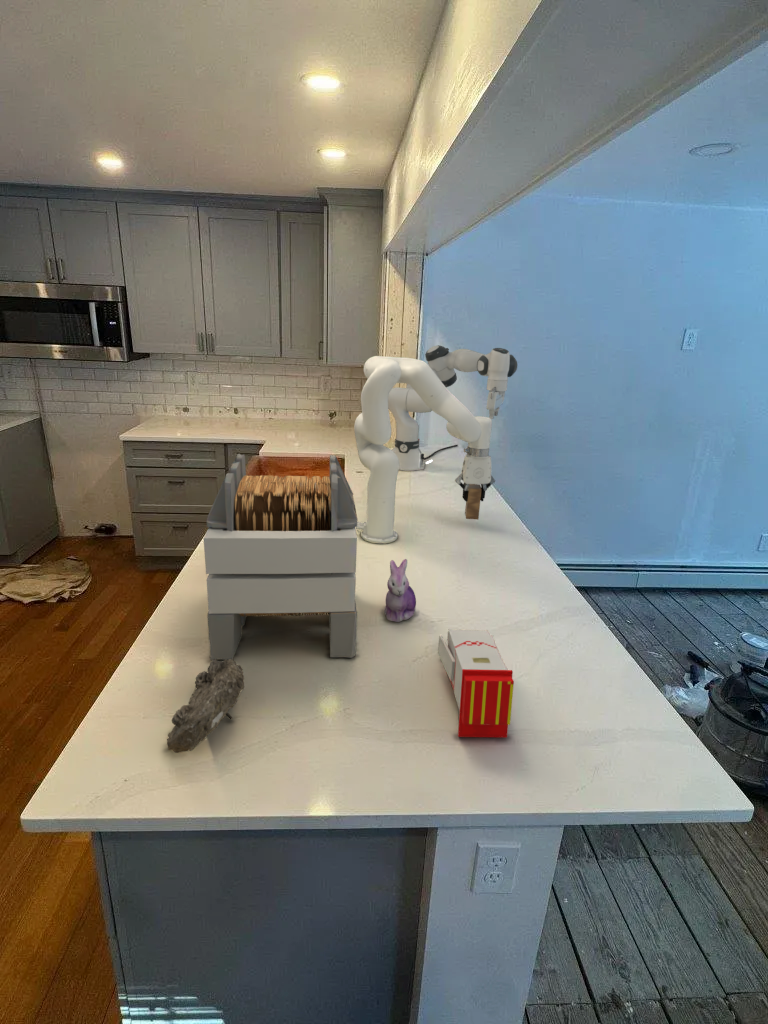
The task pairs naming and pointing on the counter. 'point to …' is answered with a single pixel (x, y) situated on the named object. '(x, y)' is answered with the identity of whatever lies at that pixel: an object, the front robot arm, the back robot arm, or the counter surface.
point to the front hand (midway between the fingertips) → (473, 499)
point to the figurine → (399, 594)
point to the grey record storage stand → (281, 554)
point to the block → (473, 501)
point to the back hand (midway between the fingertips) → (493, 417)
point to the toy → (478, 682)
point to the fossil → (206, 705)
